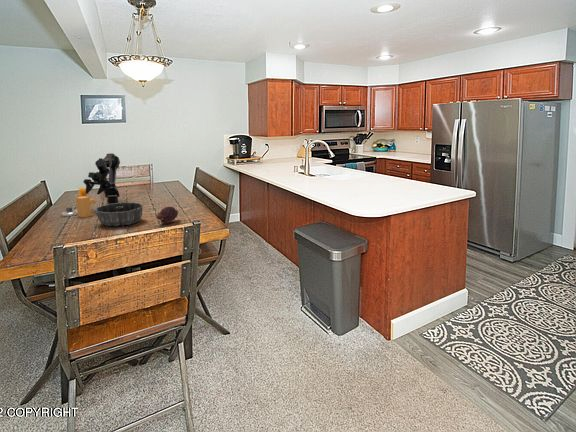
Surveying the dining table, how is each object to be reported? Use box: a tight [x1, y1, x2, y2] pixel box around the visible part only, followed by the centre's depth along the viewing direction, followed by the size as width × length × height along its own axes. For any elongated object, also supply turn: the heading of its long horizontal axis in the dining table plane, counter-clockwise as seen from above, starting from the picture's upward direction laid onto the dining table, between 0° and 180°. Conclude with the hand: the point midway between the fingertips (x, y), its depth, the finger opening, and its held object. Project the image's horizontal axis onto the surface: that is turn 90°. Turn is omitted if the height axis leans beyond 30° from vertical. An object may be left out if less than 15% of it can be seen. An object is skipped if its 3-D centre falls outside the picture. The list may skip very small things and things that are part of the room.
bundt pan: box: [94, 201, 144, 227], centre depth 226 cm, size 26×26×10 cm
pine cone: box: [155, 206, 179, 225], centre depth 226 cm, size 18×10×10 cm, turn 157°
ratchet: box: [61, 206, 94, 218], centre depth 253 cm, size 22×9×5 cm, turn 163°
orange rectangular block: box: [75, 196, 93, 219], centre depth 242 cm, size 6×6×12 cm
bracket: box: [78, 187, 95, 205], centre depth 282 cm, size 11×7×12 cm, turn 4°
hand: (91, 193), depth 248 cm, fingers open, 9 cm apart
